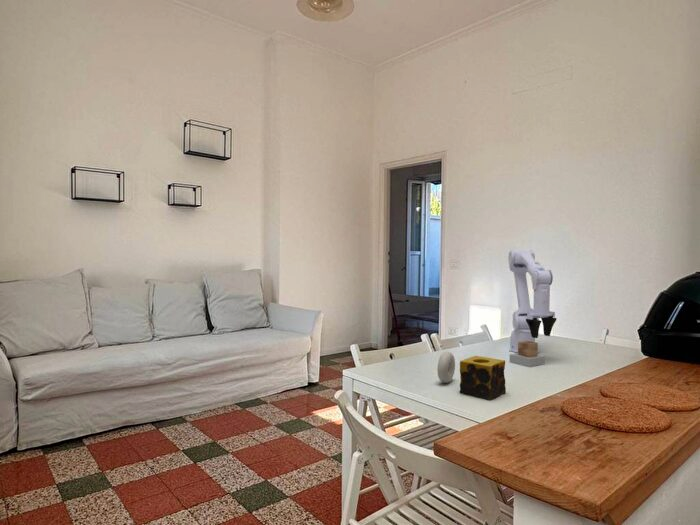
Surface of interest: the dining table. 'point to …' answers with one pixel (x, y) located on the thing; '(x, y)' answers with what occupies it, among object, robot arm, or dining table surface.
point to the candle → (482, 377)
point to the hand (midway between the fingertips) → (540, 336)
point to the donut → (446, 367)
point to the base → (527, 360)
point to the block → (528, 349)
